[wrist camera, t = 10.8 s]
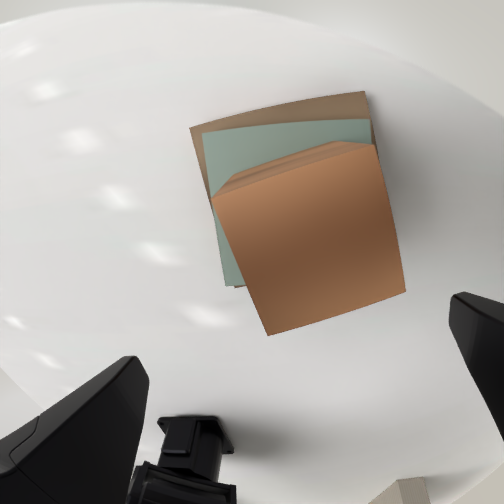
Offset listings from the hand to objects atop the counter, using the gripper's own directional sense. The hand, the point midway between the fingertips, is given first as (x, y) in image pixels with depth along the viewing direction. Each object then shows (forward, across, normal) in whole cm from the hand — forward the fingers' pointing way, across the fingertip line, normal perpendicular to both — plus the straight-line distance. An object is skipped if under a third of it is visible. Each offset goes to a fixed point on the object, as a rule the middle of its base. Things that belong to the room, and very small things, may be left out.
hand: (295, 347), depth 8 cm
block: (+8, -1, -2) cm, 9 cm away
